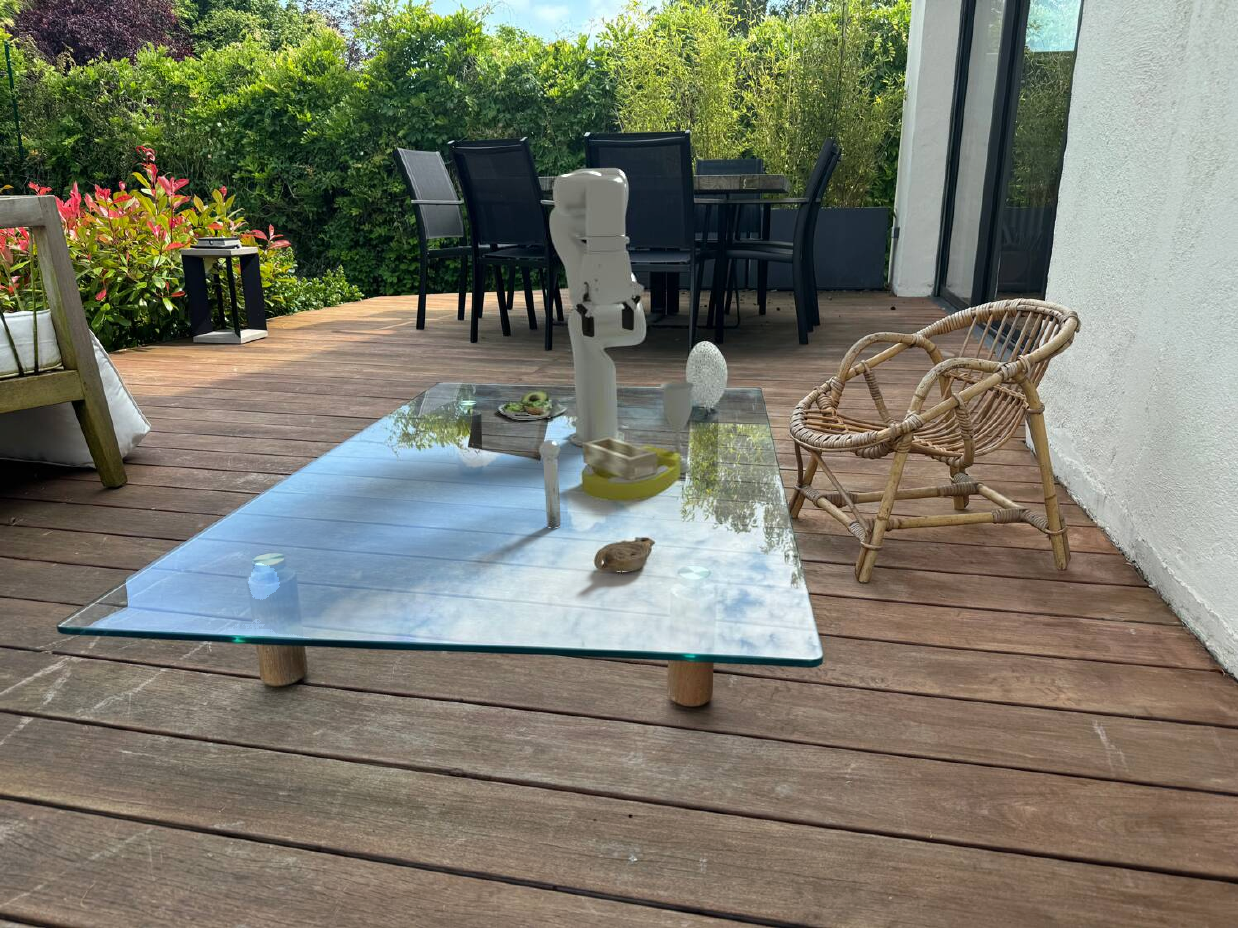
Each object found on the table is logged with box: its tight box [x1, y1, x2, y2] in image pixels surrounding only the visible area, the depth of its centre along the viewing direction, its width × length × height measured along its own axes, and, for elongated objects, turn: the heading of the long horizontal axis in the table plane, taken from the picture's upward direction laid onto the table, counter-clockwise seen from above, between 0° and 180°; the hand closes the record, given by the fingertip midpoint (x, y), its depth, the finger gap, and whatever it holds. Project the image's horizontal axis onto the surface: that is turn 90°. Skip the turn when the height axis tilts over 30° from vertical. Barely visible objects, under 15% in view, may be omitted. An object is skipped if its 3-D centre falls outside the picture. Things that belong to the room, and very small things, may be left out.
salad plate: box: [497, 390, 567, 419], centre depth 226 cm, size 19×18×5 cm
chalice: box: [660, 381, 694, 474], centre depth 175 cm, size 7×7×18 cm
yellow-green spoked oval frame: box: [581, 446, 681, 502], centre depth 170 cm, size 16×21×5 cm
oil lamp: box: [593, 536, 656, 573], centre depth 132 cm, size 13×8×5 cm, turn 138°
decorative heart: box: [685, 340, 728, 413], centre depth 224 cm, size 18×11×17 cm, turn 0°
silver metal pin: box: [538, 439, 562, 528], centre depth 148 cm, size 4×4×16 cm
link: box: [582, 437, 658, 480], centre depth 167 cm, size 15×7×4 cm, turn 38°
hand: (608, 332), depth 170 cm, fingers open, 9 cm apart
